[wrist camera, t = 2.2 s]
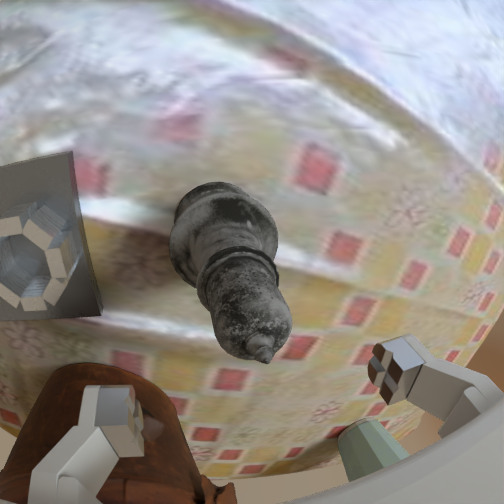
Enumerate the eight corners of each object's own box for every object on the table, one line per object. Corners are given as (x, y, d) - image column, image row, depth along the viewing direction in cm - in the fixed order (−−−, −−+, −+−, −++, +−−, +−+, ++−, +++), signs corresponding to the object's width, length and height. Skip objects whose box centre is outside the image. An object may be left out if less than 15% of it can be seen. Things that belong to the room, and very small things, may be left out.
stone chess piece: (196, 278, 21) (225, 433, 11) (152, 205, 18) (130, 341, 8) (274, 239, 21) (364, 369, 11) (240, 160, 18) (330, 244, 8)
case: (213, 449, 32) (246, 584, 16) (52, 442, 27) (42, 571, 11) (221, 339, 24) (286, 566, 9) (-5, 329, 19) (-73, 510, 4)
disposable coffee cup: (309, 446, 37) (348, 535, 24) (368, 399, 34) (425, 492, 21) (350, 450, 41) (387, 522, 28) (402, 410, 39) (449, 483, 26)
